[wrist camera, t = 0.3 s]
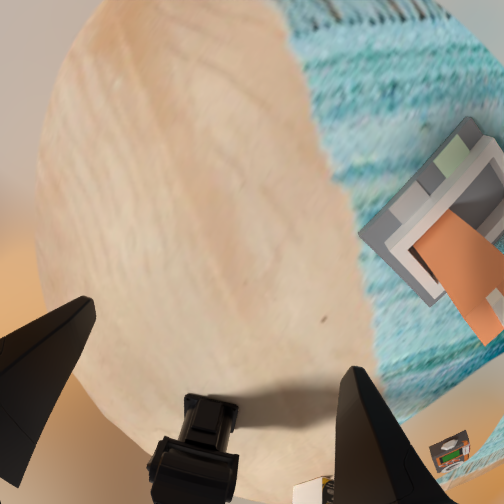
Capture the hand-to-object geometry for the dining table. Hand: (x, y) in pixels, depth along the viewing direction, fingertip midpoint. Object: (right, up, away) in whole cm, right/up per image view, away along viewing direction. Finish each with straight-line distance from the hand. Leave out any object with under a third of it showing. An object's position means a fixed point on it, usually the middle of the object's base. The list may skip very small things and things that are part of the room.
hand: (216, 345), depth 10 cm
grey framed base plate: (+17, +6, +11) cm, 21 cm away
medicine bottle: (+14, -39, +34) cm, 54 cm away
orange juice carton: (+16, +4, +12) cm, 20 cm away
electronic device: (+36, -32, +28) cm, 55 cm away
